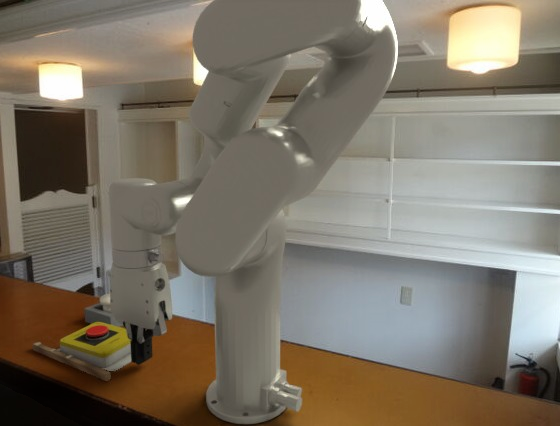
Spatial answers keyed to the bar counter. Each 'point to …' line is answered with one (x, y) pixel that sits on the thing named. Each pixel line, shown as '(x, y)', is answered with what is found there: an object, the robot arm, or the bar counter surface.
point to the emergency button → (99, 346)
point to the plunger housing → (99, 315)
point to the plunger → (106, 302)
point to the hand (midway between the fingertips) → (142, 359)
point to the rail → (72, 361)
